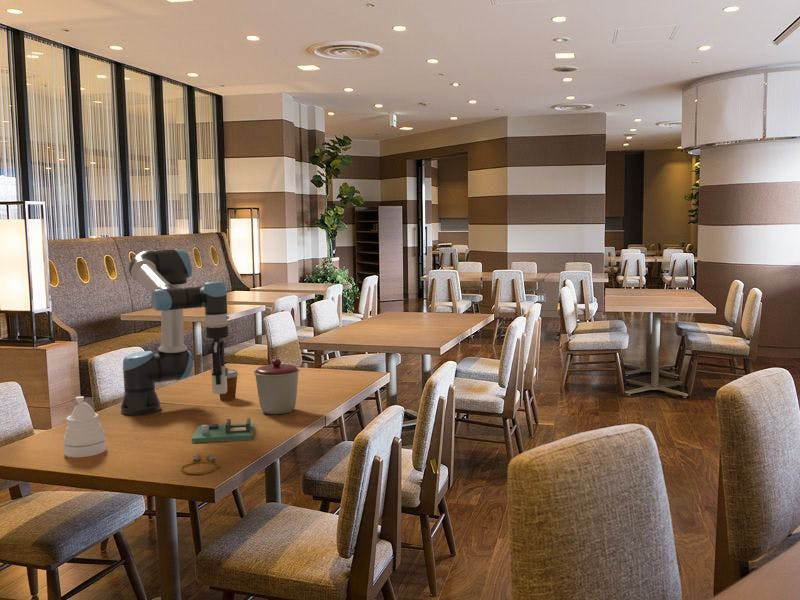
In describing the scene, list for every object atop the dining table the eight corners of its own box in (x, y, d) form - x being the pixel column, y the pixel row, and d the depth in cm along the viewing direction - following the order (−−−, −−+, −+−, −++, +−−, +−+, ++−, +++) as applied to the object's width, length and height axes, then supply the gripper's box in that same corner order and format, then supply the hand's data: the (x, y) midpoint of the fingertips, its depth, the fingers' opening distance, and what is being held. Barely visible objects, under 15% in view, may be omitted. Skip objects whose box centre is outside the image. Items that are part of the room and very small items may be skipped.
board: (191, 442, 252) (191, 429, 252) (198, 429, 268) (197, 417, 268) (251, 439, 255) (250, 426, 254) (254, 426, 271) (253, 414, 270)
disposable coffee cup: (226, 402, 308) (225, 374, 306) (211, 399, 313) (210, 372, 312) (243, 398, 315) (242, 370, 314) (229, 395, 321) (228, 368, 319)
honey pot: (58, 451, 245) (54, 398, 243) (96, 443, 254) (93, 391, 252) (73, 460, 236) (69, 405, 234) (112, 450, 245) (109, 397, 243)
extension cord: (232, 461, 234) (232, 454, 233) (206, 477, 219) (206, 471, 218) (197, 458, 237) (197, 452, 237) (170, 474, 222) (170, 468, 222)
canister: (274, 403, 305) (272, 353, 302) (310, 408, 296) (308, 356, 294) (245, 414, 289) (243, 361, 286) (282, 419, 280) (280, 364, 278)
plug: (212, 394, 257) (211, 368, 256) (214, 391, 262) (213, 366, 261) (227, 393, 258) (226, 368, 257) (229, 390, 262) (228, 365, 261)
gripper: (224, 328, 249) (227, 396, 251) (231, 322, 267) (234, 386, 269) (201, 329, 248) (205, 397, 251) (209, 323, 266) (213, 386, 268)
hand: (220, 391), depth 260 cm, fingers closed on plug, 4 cm apart
